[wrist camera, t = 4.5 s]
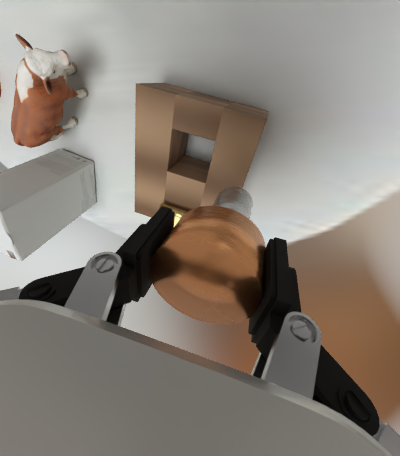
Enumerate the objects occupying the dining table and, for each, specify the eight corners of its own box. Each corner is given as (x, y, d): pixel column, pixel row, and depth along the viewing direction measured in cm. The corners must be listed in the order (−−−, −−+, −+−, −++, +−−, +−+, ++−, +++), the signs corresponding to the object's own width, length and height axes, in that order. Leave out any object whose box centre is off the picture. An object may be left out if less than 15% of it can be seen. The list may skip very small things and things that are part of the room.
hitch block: (163, 83, 23) (135, 83, 19) (267, 111, 22) (266, 119, 17) (155, 192, 32) (134, 211, 27) (230, 216, 31) (222, 241, 26)
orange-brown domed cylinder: (207, 162, 15) (148, 224, 8) (280, 180, 14) (281, 266, 7) (197, 221, 18) (149, 301, 11) (257, 239, 17) (242, 337, 10)
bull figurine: (112, 67, 24) (54, 62, 17) (69, 144, 31) (17, 161, 25) (82, 30, 23) (7, 10, 16) (44, 119, 30) (-18, 130, 24)
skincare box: (61, 147, 32) (-60, 186, 20) (97, 161, 32) (-5, 209, 20) (68, 193, 37) (-26, 245, 25) (98, 206, 37) (18, 264, 25)
